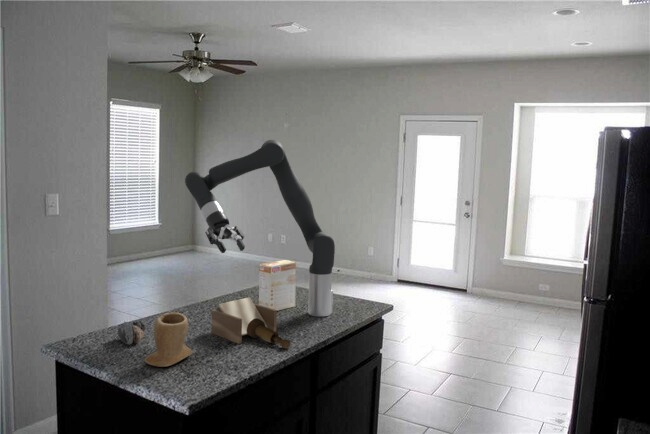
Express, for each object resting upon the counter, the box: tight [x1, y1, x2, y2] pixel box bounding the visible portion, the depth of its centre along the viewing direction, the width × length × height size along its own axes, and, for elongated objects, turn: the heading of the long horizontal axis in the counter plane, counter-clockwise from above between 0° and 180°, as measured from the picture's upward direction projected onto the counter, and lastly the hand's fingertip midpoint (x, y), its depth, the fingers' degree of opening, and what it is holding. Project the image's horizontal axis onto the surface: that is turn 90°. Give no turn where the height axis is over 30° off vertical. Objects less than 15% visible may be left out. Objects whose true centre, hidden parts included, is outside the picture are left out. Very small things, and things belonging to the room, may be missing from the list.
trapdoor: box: [216, 296, 268, 337], centre depth 200 cm, size 14×14×6 cm
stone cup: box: [144, 311, 193, 368], centre depth 170 cm, size 15×12×15 cm
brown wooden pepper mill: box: [247, 318, 291, 349], centre depth 189 cm, size 7×6×18 cm
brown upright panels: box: [211, 302, 278, 345], centre depth 199 cm, size 17×16×8 cm
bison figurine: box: [117, 320, 146, 346], centre depth 187 cm, size 12×7×10 cm
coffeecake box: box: [258, 259, 297, 311], centre depth 232 cm, size 15×7×20 cm, turn 136°
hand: (233, 250), depth 200 cm, fingers open, 8 cm apart
